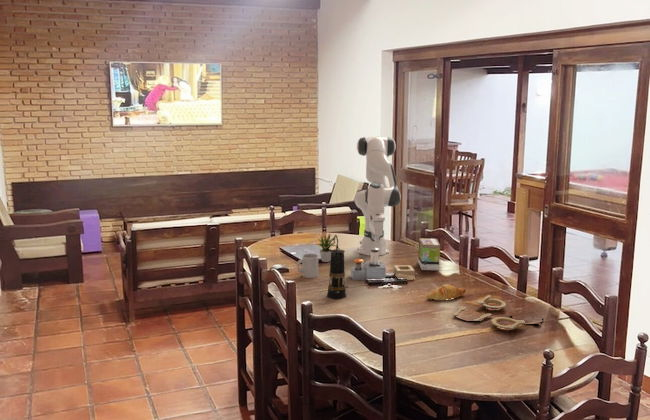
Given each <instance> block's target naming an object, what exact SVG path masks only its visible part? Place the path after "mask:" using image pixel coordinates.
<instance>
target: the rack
mask: <svg viewBox="0 0 650 420" xmlns="http://www.w3.org/2000/svg"><path fill="white" fill-rule="evenodd" d="M394 274H395V276H396V277H397V278H403V279H407V280H406V281H412V280H413V279H414V280H416V279H415V276H416V270H415V269H414V267H413V266H412V265H411V264H405V265H404V264H402V265H398V264H396V265H393V275H394ZM395 276H394V277H395ZM396 277H395V278H396ZM414 280H413V281H414Z"/></svg>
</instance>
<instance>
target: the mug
mask: <svg viewBox="0 0 650 420" xmlns="http://www.w3.org/2000/svg"><path fill="white" fill-rule="evenodd" d="M300 264H302V266H301V269H300ZM296 270H297V272H298V273H301V274H302V275H301V276H302V277H303V278H307V279H315V278H318V277H319V255H318V254H316V253H315V254H314V253H305V254H303V255H302V257H301V259H299V260H298V261H297V263H296Z"/></svg>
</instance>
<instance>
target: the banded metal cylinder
mask: <svg viewBox="0 0 650 420" xmlns="http://www.w3.org/2000/svg"><path fill="white" fill-rule="evenodd" d="M379 256H380V255H379V248H376V247H373V248H371V255H370V262H371V266H378V262H379Z"/></svg>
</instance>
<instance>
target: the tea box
mask: <svg viewBox="0 0 650 420" xmlns="http://www.w3.org/2000/svg"><path fill="white" fill-rule="evenodd" d="M418 241H419V242H418V257H417V258H418V261H417V263H418V266H419V267H420V269H421V271H439V270H440V256H441V244H440V242H439V241H438V239H437V238H419V240H418Z"/></svg>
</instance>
